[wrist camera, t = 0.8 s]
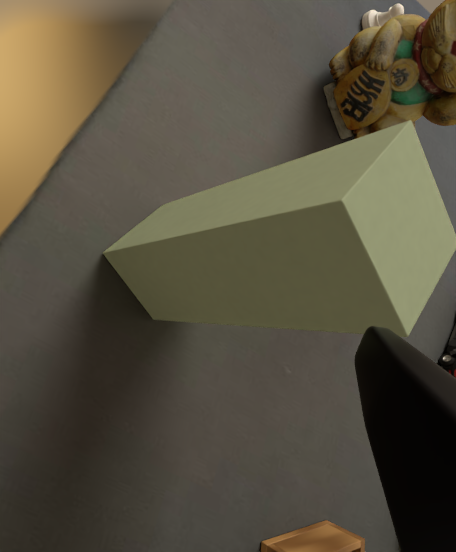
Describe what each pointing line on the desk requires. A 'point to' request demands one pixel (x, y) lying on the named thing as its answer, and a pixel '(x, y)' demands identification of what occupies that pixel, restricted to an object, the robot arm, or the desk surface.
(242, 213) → the sage green pillar
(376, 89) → the decorative figurine
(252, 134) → the desk surface
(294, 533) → the small open wooden box
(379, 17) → the chess pawn
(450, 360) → the toy car
